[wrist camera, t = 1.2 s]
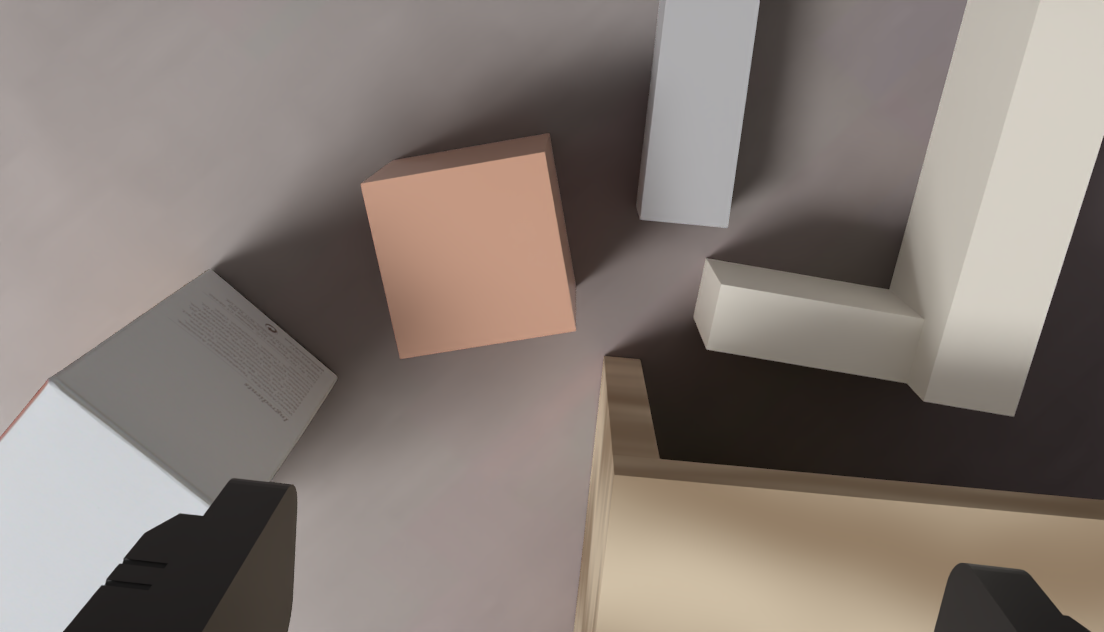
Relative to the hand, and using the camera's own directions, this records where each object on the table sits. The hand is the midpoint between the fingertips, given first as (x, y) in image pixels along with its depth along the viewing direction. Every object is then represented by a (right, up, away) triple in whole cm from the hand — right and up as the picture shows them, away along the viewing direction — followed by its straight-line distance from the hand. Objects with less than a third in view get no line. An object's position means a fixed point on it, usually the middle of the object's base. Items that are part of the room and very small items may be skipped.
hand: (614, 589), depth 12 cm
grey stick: (+4, +13, +18) cm, 23 cm away
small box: (-12, 0, +22) cm, 25 cm away
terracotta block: (-3, +6, +20) cm, 21 cm away
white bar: (+10, +12, +18) cm, 24 cm away
